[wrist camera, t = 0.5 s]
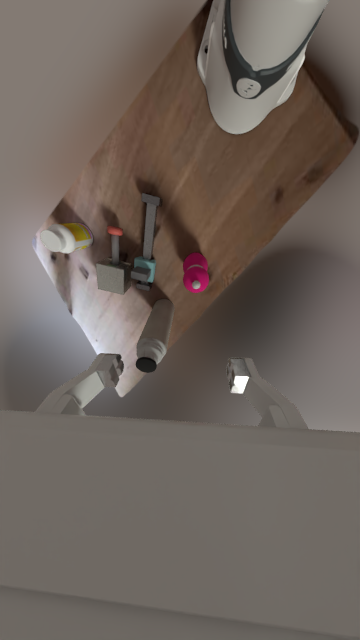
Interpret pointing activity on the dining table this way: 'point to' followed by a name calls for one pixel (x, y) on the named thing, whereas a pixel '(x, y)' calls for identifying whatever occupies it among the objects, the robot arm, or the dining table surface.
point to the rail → (149, 233)
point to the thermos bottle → (155, 336)
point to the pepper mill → (195, 272)
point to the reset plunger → (115, 243)
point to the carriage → (143, 269)
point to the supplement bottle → (67, 237)
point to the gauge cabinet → (114, 276)
